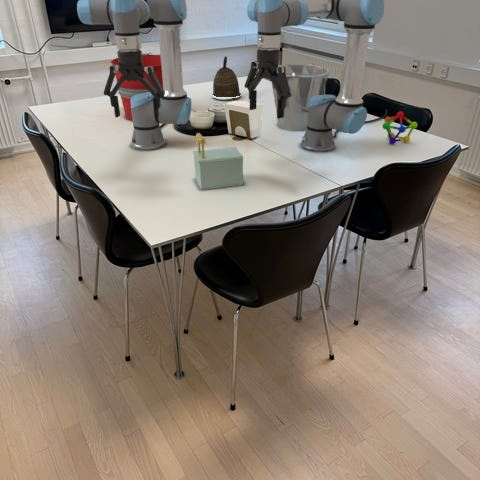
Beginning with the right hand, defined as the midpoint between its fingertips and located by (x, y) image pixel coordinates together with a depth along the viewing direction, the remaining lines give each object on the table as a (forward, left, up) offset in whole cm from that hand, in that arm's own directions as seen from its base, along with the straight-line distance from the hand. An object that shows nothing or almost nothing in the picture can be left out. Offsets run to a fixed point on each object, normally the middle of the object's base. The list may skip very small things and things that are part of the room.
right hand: (266, 113), depth 156 cm
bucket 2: (-65, -42, -28) cm, 82 cm away
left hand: (+37, -25, 0) cm, 45 cm away
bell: (-75, -109, -28) cm, 135 cm away
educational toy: (-80, +8, -28) cm, 85 cm away
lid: (+12, -13, -17) cm, 24 cm away
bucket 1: (-16, -108, -28) cm, 113 cm away
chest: (+11, -13, -28) cm, 33 cm away
